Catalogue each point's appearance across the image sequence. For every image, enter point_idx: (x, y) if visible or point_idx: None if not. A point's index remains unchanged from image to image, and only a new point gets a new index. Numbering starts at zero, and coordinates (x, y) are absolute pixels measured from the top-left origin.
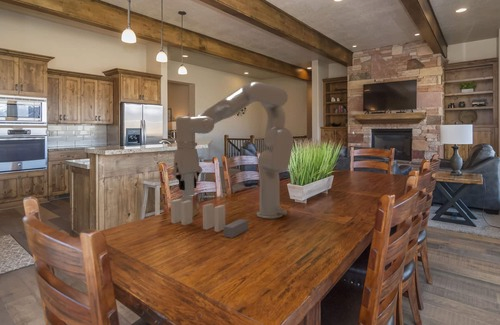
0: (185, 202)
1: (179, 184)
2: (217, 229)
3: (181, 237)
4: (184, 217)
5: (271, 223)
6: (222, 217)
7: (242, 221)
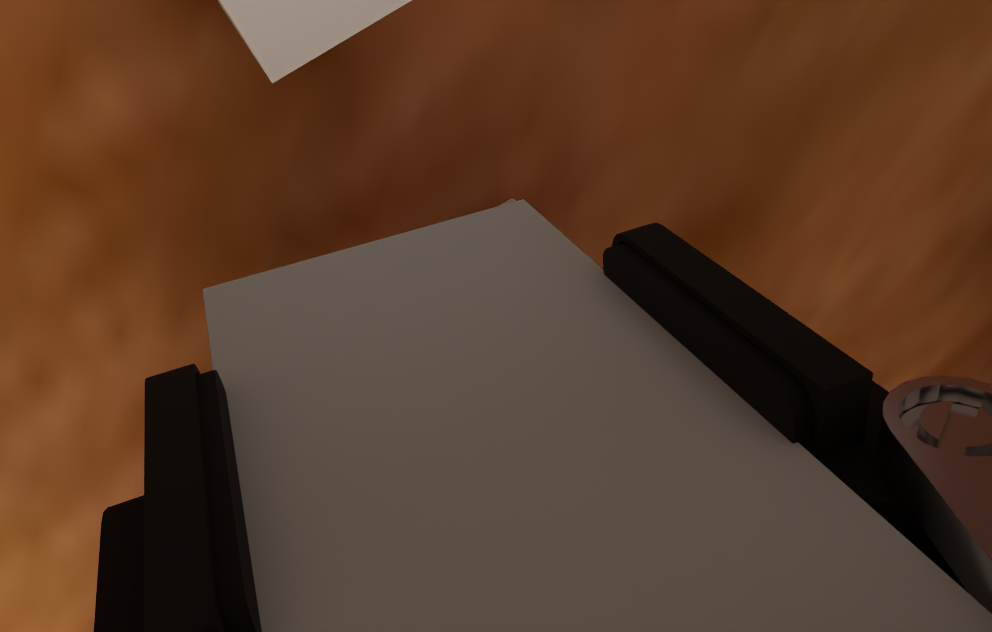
0: (314, 43)
1: (116, 625)
2: None
3: (62, 459)
4: (230, 20)
5: (933, 364)
6: None
7: None
